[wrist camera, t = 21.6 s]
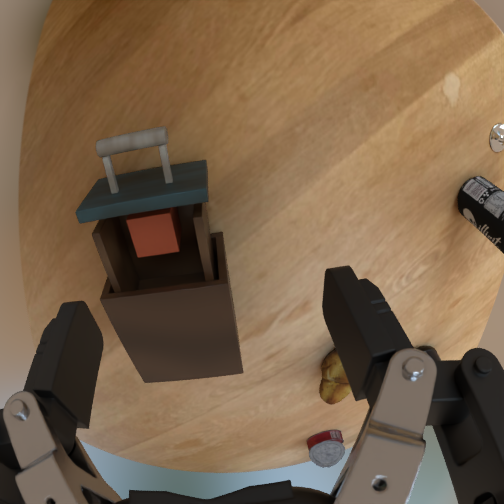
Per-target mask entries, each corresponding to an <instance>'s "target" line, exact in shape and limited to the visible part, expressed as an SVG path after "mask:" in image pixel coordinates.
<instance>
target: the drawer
mask: <svg viewBox="0 0 504 504" xmlns="http://www.w3.org/2000/svg"><path fill="white" fill-rule="evenodd" d="M166 144H168V132H167V128H166V126H163V127H157V128H152V129H147V130H142V131H137V132H132V133H128V134H123V135H119V136H114V137H110V138H106V139H102V140H98V141H97V142H96V151H97V154H98V156H99V157H103V158H102V159H103V163H104V167H105V171H106V175H107V178H102V179H98V181H97V182H96V183H95V185H94V186H93V187H92V189H91V190H90V192H89V193H88V194H87V196H86V197H85V199H84V200H83V202H82V203H81V204H80V206H79V207H78V209H77V210H76V215H77V218H78V221H79V223H85V222H90V221H96V220H99V222H98V223H97V225H96V227H95V229H94V231H93V233H92V236H93V239H94V242H95V245H96V247H97V250H98V252H99V255H100V258H101V260H102V263H103V265H104V268H105V270H106V273H107V275H108V278H109V280H110V282H111V285H112V287H113V290H114V292H115V293H119V292H127V291H136V290H144V289H152V288H160V287H168V286H175V285H183V284H191V283H198V282H206V281H213V280H218V278H217V268H216V263H215V257H214V251H213V245H212V240H211V234H210V228H209V222H208V216H207V210H206V203H205V202H208V169H207V162H206V160H202V161H195V162H188V163H182V164H176V165H170V162H169V156H168V151H167V145H166ZM158 145H159V152H160V157H161V162H162V167H158V168H152V169H147V170H141V171H136V172H131V173H126V174H121V175H116V176H115V173H114V169H113V165H112V161H111V157H110V155H114V154H118V153H123V152H127V151H132V150H137V149H142V148H147V147H153V146H158ZM171 207H177V210H178V215H179V219H180V224H181V228H182V230H181V241H180V251H179V252H174V253H167V254H160V255H153V256H146V257H140V258H138V257H137V254H136V250H135V247H134V244H133V241H132V238H131V235H130V231H129V228H128V225H127V222H126V219H127V217H128V215H129V214H134V213H140V212H146V211H152V210H158V209H164V208H171Z"/></svg>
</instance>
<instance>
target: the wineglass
mask: <svg viewBox="0 0 504 504" xmlns="http://www.w3.org/2000/svg"><path fill="white" fill-rule="evenodd" d="M490 145H491V148H492V150H493V151H495V152H500V151H502V150H503V149H504V124H502V123H499V124H497V125H495V126H494V128H493V129H492V131H491V134H490Z"/></svg>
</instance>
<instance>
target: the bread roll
mask: <svg viewBox="0 0 504 504" xmlns="http://www.w3.org/2000/svg"><path fill="white" fill-rule="evenodd" d="M321 371H322V380H321V383H320V388H319V393H320V397H321V398H322V399H323V400H324V401H325V402H326V403H328V404H331V405H332V404H335V403H338V402H340V401H341V400H342V399H344V398H345V397H346V396H347V395H348V394H349V393H350V391H351V387H350V384H349V382H348V379H347V376H346V374H345V371H344V368H343V366H342V363H341V361H340V358H339V355H338V353H337V350H333V351H332V352H331V353H330V354H328V356H327V357H326V358H325V360H324V362H323V364H322V368H321Z"/></svg>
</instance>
